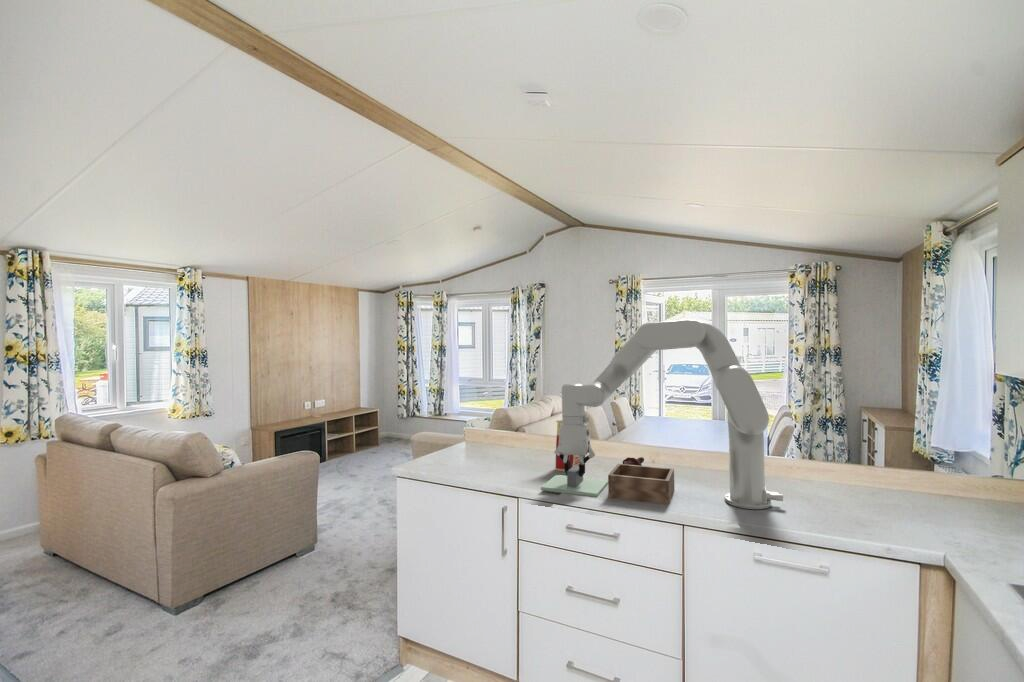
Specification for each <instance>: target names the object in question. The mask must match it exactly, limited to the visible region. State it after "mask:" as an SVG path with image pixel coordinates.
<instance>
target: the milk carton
mask: <svg viewBox="0 0 1024 682" xmlns="http://www.w3.org/2000/svg"><path fill="white" fill-rule="evenodd" d="M555 422H556V423H557V426H556V440H555V449H556V448H557V447H558V445H559V432H560V426H561V424H562V420H561V419H560V420H555ZM569 461H570V462H571V468H572V467H573V466H574V465H577V466H579V465H580V458H579V455H570V457H569ZM554 469H555V471H558V472H565V463H564V462H563V460H562V459H561V458H560V457H559V456H558V455H556V454H555V468H554Z"/></svg>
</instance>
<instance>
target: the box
mask: <svg viewBox="0 0 1024 682" xmlns="http://www.w3.org/2000/svg"><path fill="white" fill-rule="evenodd" d="M607 480H608V485H607V486H608V498H609V499H619V500H624V501H625V500H626V501H632V502H633V501H634V502H642V503H652V504H658V505H665V506H666V505H668V506H670V505H671V502H672V498H673V495H674V492H675V468H672V467H671V468H669V467H658V466H648V465H642V466H638V465H627V464H623V463H617V464H616V466H614V467H613V469H612V470H611V471H610V472H609V473H608V474H607Z"/></svg>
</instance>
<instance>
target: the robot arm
mask: <svg viewBox="0 0 1024 682" xmlns="http://www.w3.org/2000/svg"><path fill="white" fill-rule="evenodd" d="M689 348H690V349H692V348H696V349H697V350H698V351H699V352H700V353H701V356H702V357H703V360H704V361H705V363H706V364H707V367H708V370H709V371H710V374H711V377H712V378H713V383H714V385H715V386H714V387H715V388H716V390H717V391H718V393H719V396H721V399H722V401H723V404H724V406H725V408H726V410H727V414H726V415H727V417H726V418H727V429H728V460H729V461H728V463H729V465H728V466H729V468H728V469H729V492H728V493H726V494H725V495H724V502H726V503H727V504H729V505H731V506H734V507H737V508H739V509H740V508H742V509H747V510H763V509H768V508H770V507H771V506H772V501H777V502H784V495H783V494H782V493H781V494H779V493H778V492H777V491H769V490H767V486H766V477H765V476H766V475H765V474H766V473H765V436H764V432H765V430H766V429H767V427H768V426H769V422H770V417H769V411H768V409H767V407H766V405H765V403H764V401H763V399H762V396H761V394H760V392H759V390H758V388H757V386H756V384H755V382H754V379H753V377H752V376H751V374H750V373H749V371H747V370H746V369H745V368H743V367H742V366H741V364H740V362H739V359H738V357H737V355H736V353H735V351H734V349H733V347H732V346H731V343H730V342H729V340H728V339H727V337H726V335H725V334H724V333H723V332H722V331H721V330H720V329H719V328H717V327H716V326H715V325H713V324H711V323H709V322H706V321H703V320H696V319H692V318H685V319H677V320H676V319H675V320H667V321H657V322H655V321H654V322H653V321H651V322H650V321H649V322H646V323H643V324H642V325H640V326H639V327H638V328H637V331H636V332H635V333H634V334H633V335H632V336H631V337H630V338H629V339H628V340H627V342H626V343H625V344H623V346H621V348H620V349H619V350H618V351H617V352H616V353H615V354H614V356H613V357H612V359H611V361H610V362H609V364H608V365H607V366H606V367H605V369H604V370H603V371H602V372H601V373H600V374H599V375H598V376H597V377H596V378H595V380H594V381H593V382H591V383H590V384H582V383H578V382H577V383H576V382H571V383H570V382H568V383H564V384H563V385H562V386H561V415H562V416H561V417H562V424H561V426H560V432H559V445H558V447H557V448H556V447H555V450H554V452H553V453H554V454H555V456H556V455H558V456H559V457H560V458H561V459H562V460H563V462H564V463H565V471H564V472H565V476H567V471H568V470H569V469H571V462H570V461H569V457H570V455H579V458H580V465H579V476H580V477H582V476H583V477H584V475H585V474H586V463H587V462H588V461H589V460H591V459H593V458H594V457H595V456H596V453H595V452H594V450H593V449H592V446H591V445H592V444H591V436H590V429H589V426H588V425H589V424H588V422H590V418H589V417H587V416H586V415H585V414H586V410H585V409H586V407H590V408H592V407H593V408H598V407H601V406H602V405H604V404H605V402H606V401H607V400H609V398H610V397H611V396H612V394H614V393H615V391H617V389H618V388H620V387H621V386H622V385H623V383H624V382H626V381H627V380H628V379H629V378H630V377H632V376H633V375H634V374H635V373H636V372H637V371H638V370H639V369H640V368H641V367H642V366H643V365H644V364H645V363H646V362H647V360H649V358H650V357H651V356H653V355H654V354H655V352H657V351H662V350H663V351H664V350H665V351H666V350H675V349H676V350H677V349H689Z"/></svg>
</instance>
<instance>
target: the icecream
mask: <svg viewBox="0 0 1024 682" xmlns="http://www.w3.org/2000/svg"><path fill="white" fill-rule="evenodd" d="M644 461H645V458H644V457H643V456H642V457H638V458H635V457H629V456H628V457H627V458H625V459H623V460H622V464H627V465H638V466H643V465H642V464H643V462H644Z"/></svg>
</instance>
